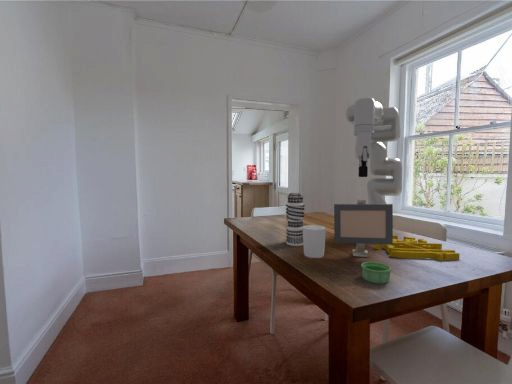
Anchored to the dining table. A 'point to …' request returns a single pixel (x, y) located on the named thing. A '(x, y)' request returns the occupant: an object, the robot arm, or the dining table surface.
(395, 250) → the decorative art
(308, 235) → the candle holder
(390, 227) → the picture frame
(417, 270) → the dining table surface
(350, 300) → the dining table surface
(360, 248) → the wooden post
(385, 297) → the dining table surface
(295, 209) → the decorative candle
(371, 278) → the ramekin
